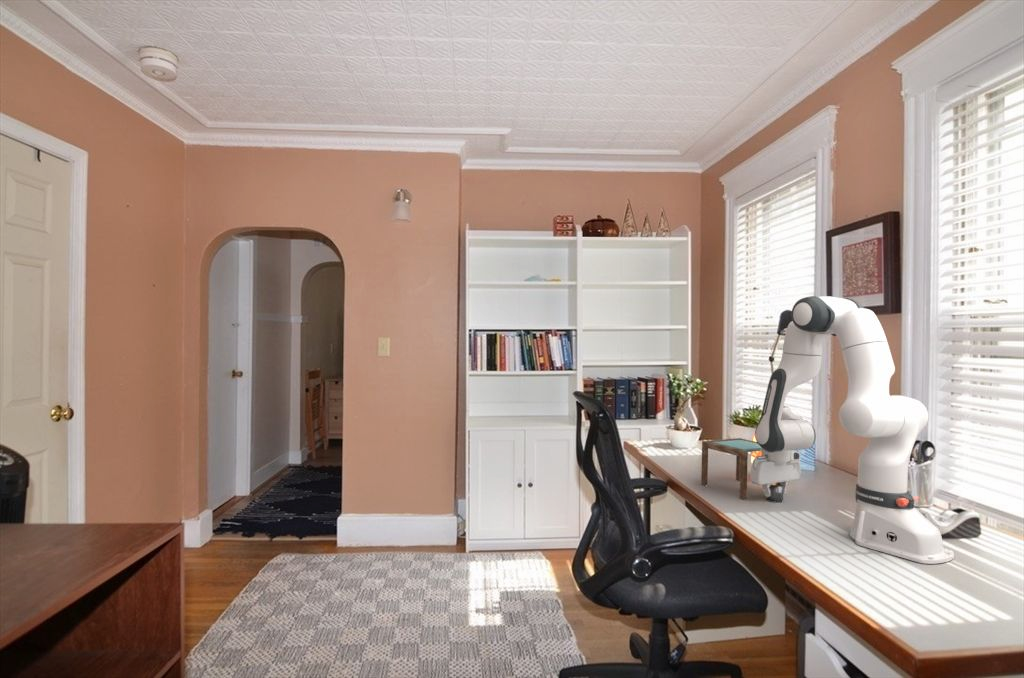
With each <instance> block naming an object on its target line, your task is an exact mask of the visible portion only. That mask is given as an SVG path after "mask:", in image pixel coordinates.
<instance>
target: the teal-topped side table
mask: <svg viewBox="0 0 1024 678" xmlns="http://www.w3.org/2000/svg"><path fill="white" fill-rule="evenodd" d="M731 440H744V441H748V442H753V443H757V442H755V441H752V439H746V438H741V437H739V438H736V437H734V438H724V439H715V440H703V441H702V442H701V476H700V477H701V479H700V485H701V486H703V485H704V486H703V487H707V486H708V476H709V475H708V474H709V473H708V471H709V467H708V466H709V450H713V451H716V452H721V453H724V454H729V455H733V456H736V462H735V481H736V480H737V481H736V482H739V499H742V500H747V498H748V493H747V492H748V458H749V457H748V456H749V455H748V453H749V452H748V451H744V450H740V449H736V448H732V447H728V446H723V445H719V444H715V443H712V442H720V441H731ZM757 444H758V443H757ZM775 484H780V485H781V483H780V482H779V483H775ZM706 485H707V486H706Z"/></svg>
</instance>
